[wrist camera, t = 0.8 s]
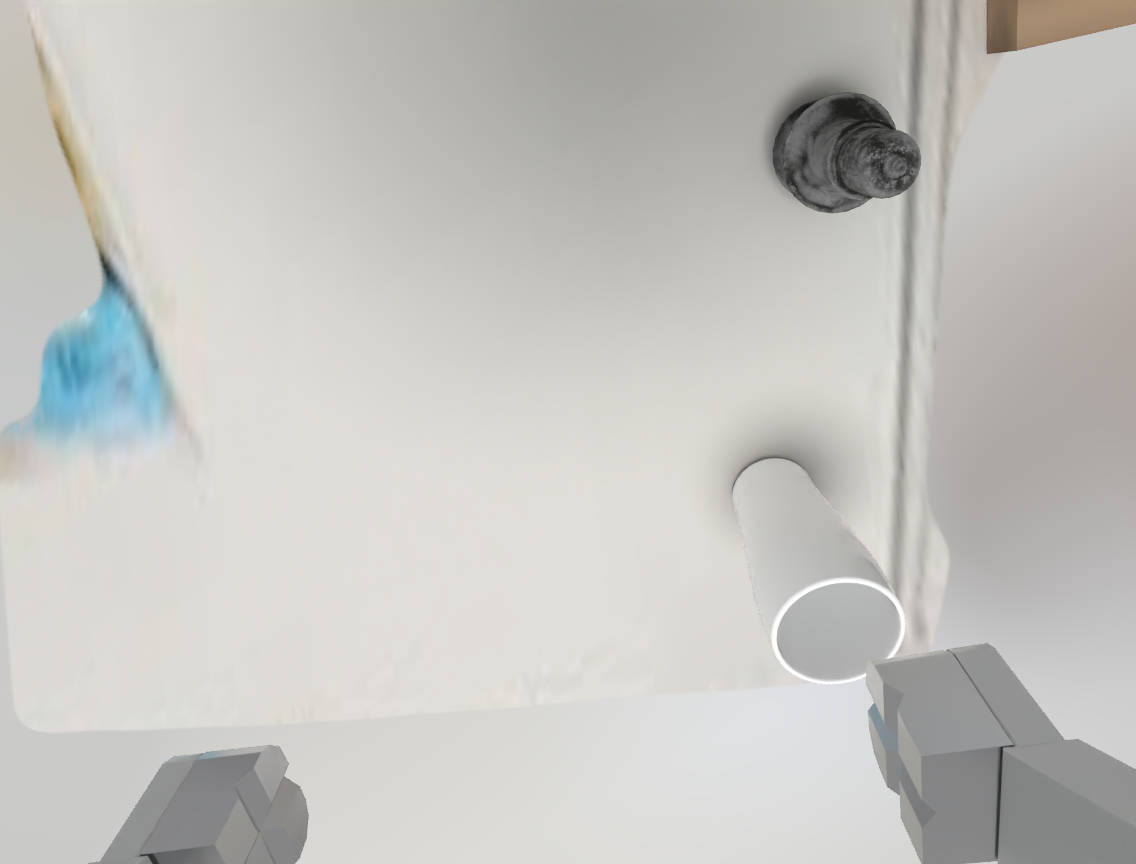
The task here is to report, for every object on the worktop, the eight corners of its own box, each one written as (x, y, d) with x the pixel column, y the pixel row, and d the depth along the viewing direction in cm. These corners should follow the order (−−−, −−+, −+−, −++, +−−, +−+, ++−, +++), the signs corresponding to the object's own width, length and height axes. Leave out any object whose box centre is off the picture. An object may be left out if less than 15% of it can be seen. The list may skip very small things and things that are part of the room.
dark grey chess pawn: (792, 223, 44) (861, 265, 33) (750, 129, 42) (809, 140, 31) (888, 171, 42) (995, 195, 31) (850, 71, 40) (950, 60, 29)
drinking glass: (841, 473, 50) (938, 614, 36) (781, 548, 53) (850, 705, 39) (758, 427, 49) (825, 554, 35) (700, 505, 51) (742, 653, 38)
